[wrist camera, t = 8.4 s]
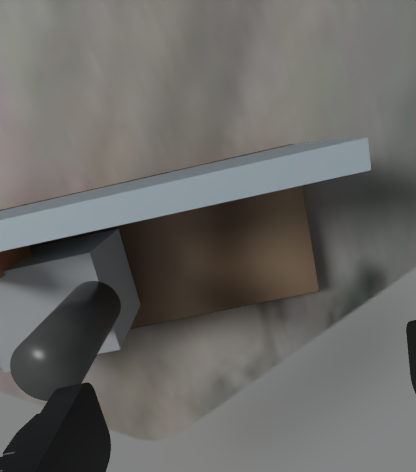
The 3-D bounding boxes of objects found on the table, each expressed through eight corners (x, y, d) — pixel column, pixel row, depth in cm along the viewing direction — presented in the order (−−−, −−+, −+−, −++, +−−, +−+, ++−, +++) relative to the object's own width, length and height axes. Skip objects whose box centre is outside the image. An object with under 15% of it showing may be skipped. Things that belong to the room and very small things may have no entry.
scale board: (296, 143, 19) (367, 137, 10) (299, 163, 19) (371, 173, 11) (-55, 223, 20) (-254, 277, 12) (-48, 240, 21) (-237, 306, 12)
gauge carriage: (126, 212, 20) (49, 269, 10) (151, 302, 21) (103, 425, 12) (-14, 244, 21) (-210, 324, 11) (19, 329, 22) (-130, 468, 12)
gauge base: (289, 144, 21) (296, 143, 19) (311, 282, 23) (318, 291, 21) (-38, 218, 22) (-55, 223, 20) (12, 342, 24) (-1, 355, 22)
